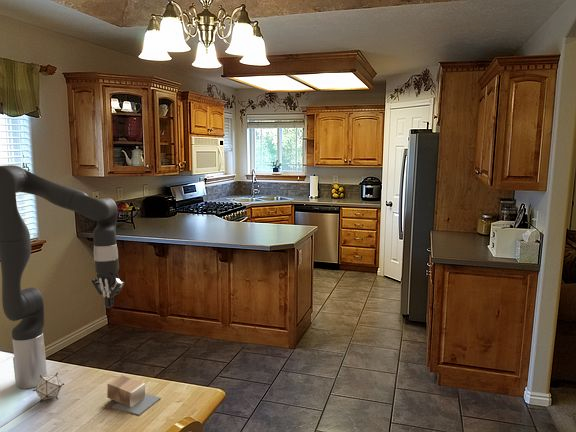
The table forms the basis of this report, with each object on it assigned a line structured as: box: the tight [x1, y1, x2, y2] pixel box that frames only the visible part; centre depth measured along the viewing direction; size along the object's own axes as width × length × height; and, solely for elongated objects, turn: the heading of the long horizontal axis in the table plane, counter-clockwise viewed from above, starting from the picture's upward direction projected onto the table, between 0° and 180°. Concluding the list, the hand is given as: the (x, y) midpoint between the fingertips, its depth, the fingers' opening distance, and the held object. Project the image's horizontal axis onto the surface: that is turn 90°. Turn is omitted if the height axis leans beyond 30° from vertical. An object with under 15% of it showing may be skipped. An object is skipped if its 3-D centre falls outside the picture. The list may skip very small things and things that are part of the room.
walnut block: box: [106, 374, 146, 407], centre depth 143 cm, size 5×6×10 cm
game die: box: [32, 372, 65, 403], centre depth 145 cm, size 9×8×10 cm
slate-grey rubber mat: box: [111, 393, 162, 416], centre depth 142 cm, size 11×10×1 cm
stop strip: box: [105, 399, 117, 410], centre depth 145 cm, size 2×12×1 cm, turn 157°
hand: (109, 307), depth 152 cm, fingers closed
